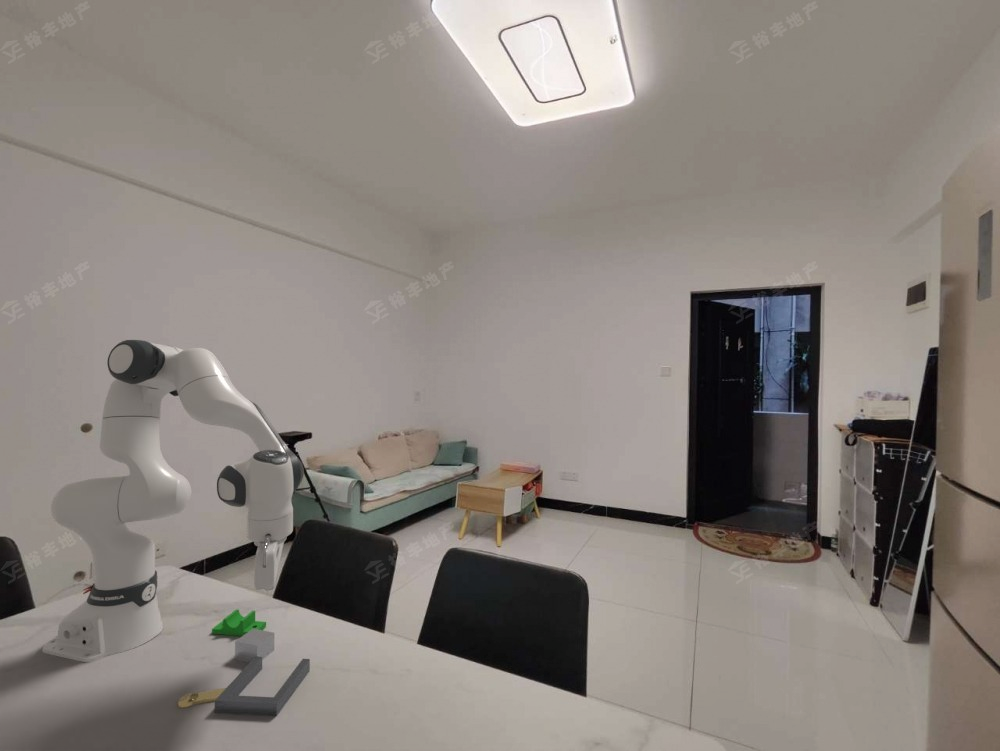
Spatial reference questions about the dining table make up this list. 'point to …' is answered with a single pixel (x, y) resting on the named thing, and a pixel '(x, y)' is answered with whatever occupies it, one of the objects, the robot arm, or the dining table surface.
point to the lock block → (254, 645)
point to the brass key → (199, 698)
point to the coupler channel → (253, 704)
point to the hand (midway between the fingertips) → (270, 586)
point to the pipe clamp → (238, 624)
